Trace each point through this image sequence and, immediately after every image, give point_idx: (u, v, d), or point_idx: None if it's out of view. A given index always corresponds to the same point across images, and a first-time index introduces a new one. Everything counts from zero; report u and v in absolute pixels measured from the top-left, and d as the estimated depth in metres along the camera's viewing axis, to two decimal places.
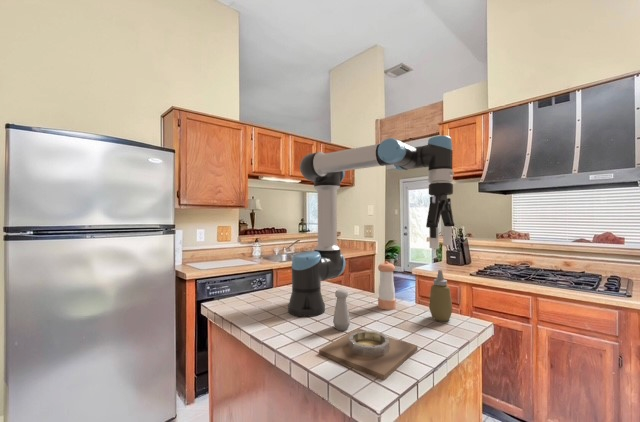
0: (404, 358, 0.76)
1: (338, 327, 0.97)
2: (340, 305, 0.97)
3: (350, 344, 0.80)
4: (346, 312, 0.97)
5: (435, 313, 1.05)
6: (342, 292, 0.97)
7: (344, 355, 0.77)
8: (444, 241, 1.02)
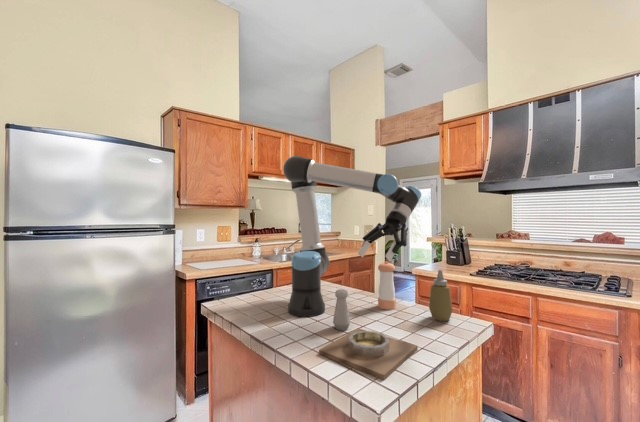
0: (404, 358, 0.76)
1: (338, 327, 0.97)
2: (340, 305, 0.97)
3: (350, 344, 0.80)
4: (346, 312, 0.97)
5: (435, 313, 1.05)
6: (342, 292, 0.97)
7: (344, 355, 0.77)
8: (361, 251, 1.14)
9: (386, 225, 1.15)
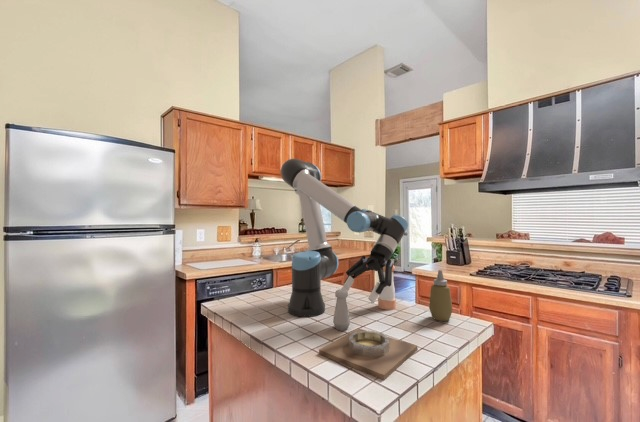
0: (404, 358, 0.76)
1: (338, 327, 0.97)
2: (340, 305, 0.97)
3: (350, 344, 0.80)
4: (346, 312, 0.97)
5: (435, 313, 1.05)
6: (342, 292, 0.97)
7: (344, 355, 0.77)
8: (344, 288, 1.06)
9: (370, 259, 1.07)
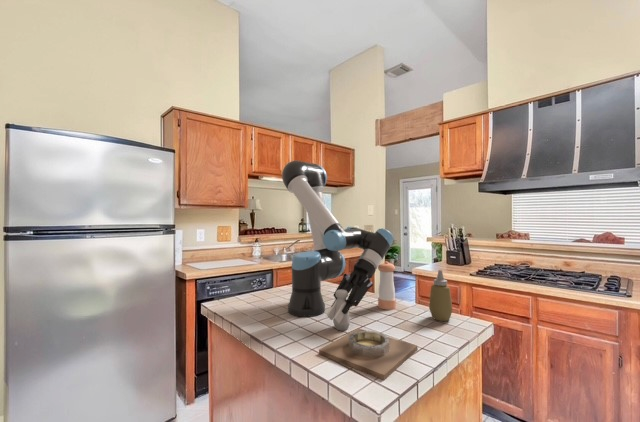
0: (404, 358, 0.76)
1: (338, 327, 0.97)
2: (340, 305, 0.97)
3: (350, 344, 0.80)
4: None
5: (435, 313, 1.05)
6: (342, 292, 0.97)
7: (344, 355, 0.77)
8: (330, 313, 0.98)
9: (353, 274, 1.04)
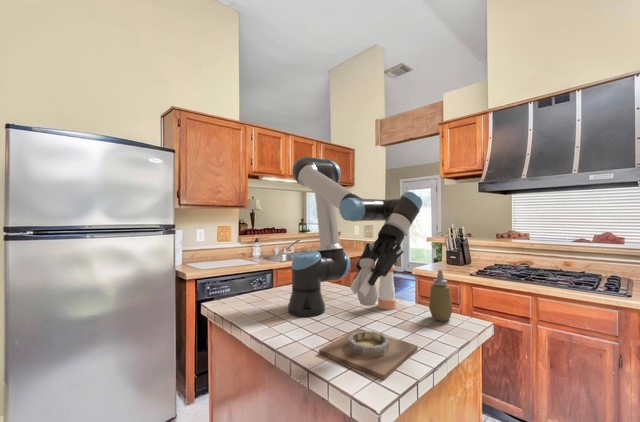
0: (404, 358, 0.76)
1: (364, 302, 0.82)
2: (365, 275, 0.82)
3: (350, 344, 0.80)
4: None
5: (435, 313, 1.05)
6: (368, 260, 0.82)
7: (344, 355, 0.77)
8: (354, 285, 0.83)
9: (379, 242, 0.89)
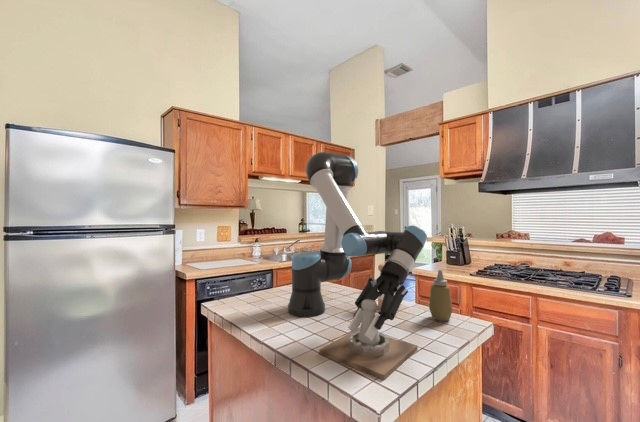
0: (404, 358, 0.76)
1: None
2: (367, 318, 0.80)
3: (350, 344, 0.80)
4: None
5: (435, 313, 1.05)
6: (370, 303, 0.80)
7: (344, 355, 0.77)
8: (352, 325, 0.82)
9: (381, 280, 0.86)
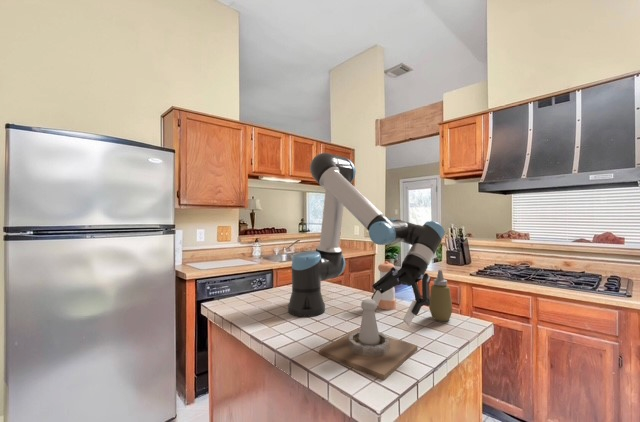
0: (404, 358, 0.76)
1: None
2: (367, 318, 0.80)
3: (350, 344, 0.80)
4: (375, 327, 0.80)
5: (435, 313, 1.05)
6: (370, 303, 0.80)
7: (344, 355, 0.77)
8: None
9: (402, 272, 0.92)
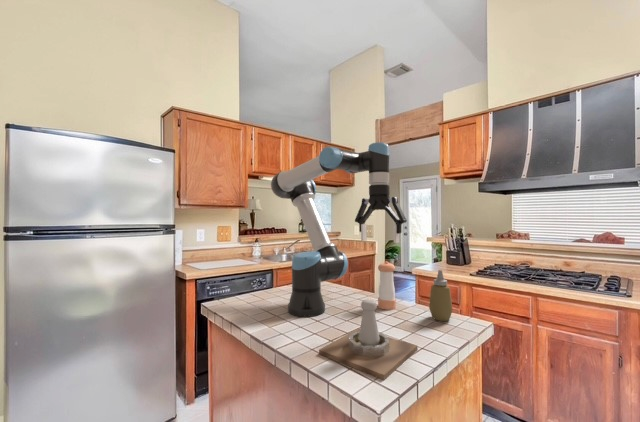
0: (404, 358, 0.76)
1: None
2: (367, 318, 0.80)
3: (350, 344, 0.80)
4: (375, 327, 0.80)
5: (435, 313, 1.05)
6: (370, 303, 0.80)
7: (344, 355, 0.77)
8: (363, 237, 1.11)
9: (374, 202, 1.07)
